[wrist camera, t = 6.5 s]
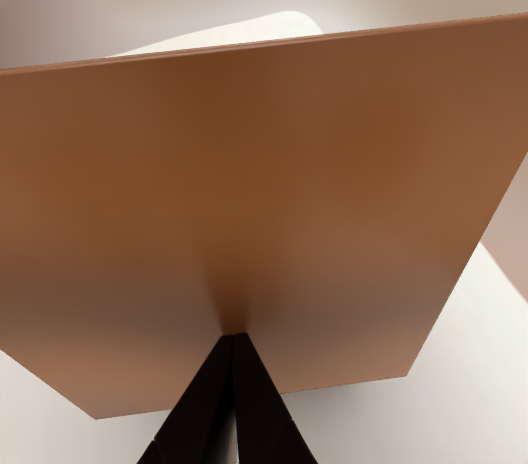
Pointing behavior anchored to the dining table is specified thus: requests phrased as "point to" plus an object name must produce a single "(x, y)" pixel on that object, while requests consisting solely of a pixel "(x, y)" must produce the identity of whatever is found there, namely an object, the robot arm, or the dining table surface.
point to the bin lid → (251, 204)
